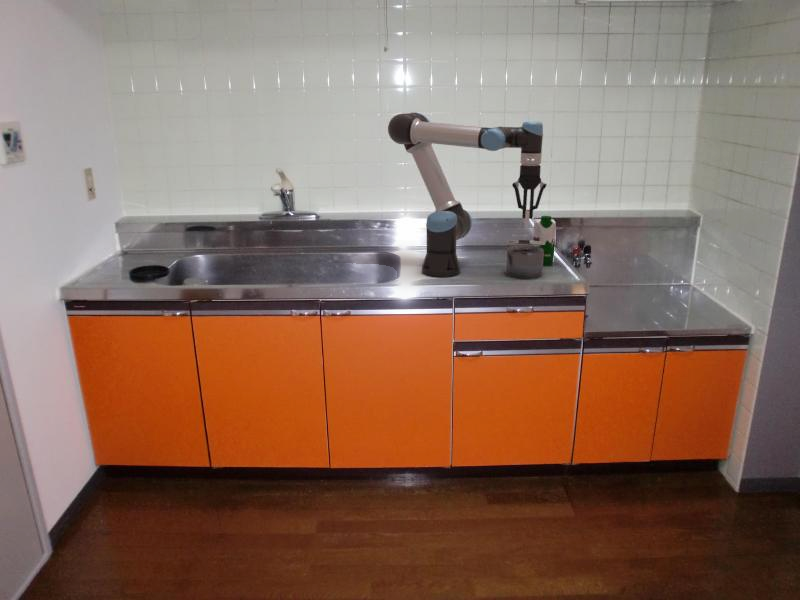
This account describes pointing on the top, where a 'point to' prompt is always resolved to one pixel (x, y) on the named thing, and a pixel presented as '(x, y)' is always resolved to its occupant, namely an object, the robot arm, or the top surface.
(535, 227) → the milk carton
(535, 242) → the cooker lid
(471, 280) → the top surface
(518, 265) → the cooker pot
